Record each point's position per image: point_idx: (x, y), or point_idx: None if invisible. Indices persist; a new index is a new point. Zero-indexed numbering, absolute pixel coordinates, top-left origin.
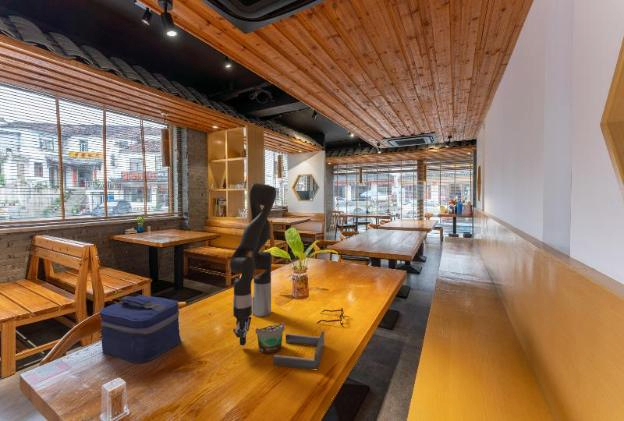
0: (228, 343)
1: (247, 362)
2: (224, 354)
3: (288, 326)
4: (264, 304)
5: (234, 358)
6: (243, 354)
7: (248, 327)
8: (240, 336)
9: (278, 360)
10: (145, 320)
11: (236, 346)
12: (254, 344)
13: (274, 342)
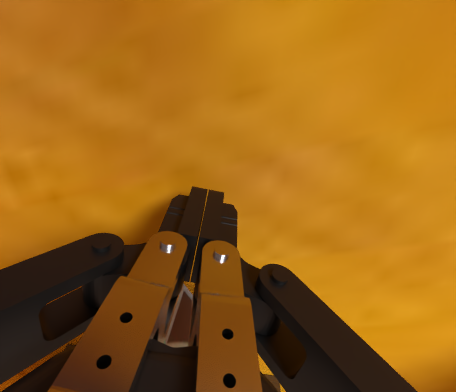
0: (295, 33)
1: (47, 245)
2: (92, 54)
3: (446, 382)
4: None
5: (61, 159)
6: (125, 208)
7: (271, 356)
8: (82, 285)
9: None
10: None
11: (233, 134)
12: (257, 253)
13: None
